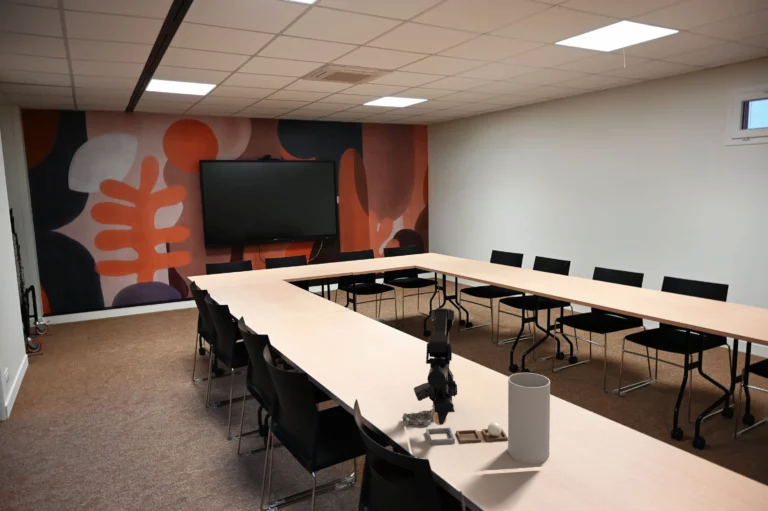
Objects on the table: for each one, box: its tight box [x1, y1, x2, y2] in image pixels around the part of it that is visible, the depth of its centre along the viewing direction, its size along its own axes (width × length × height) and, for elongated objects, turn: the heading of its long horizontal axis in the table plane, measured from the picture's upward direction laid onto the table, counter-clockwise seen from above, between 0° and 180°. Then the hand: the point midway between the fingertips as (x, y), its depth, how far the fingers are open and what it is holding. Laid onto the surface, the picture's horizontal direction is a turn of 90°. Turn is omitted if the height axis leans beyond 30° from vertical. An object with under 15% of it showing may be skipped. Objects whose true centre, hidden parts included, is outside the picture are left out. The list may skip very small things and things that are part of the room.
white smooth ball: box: [487, 421, 503, 437], centre depth 170 cm, size 5×5×5 cm
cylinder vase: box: [507, 372, 551, 464], centre depth 157 cm, size 12×12×25 cm
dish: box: [425, 427, 456, 446], centre depth 170 cm, size 8×8×2 cm
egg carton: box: [401, 410, 433, 428], centre depth 183 cm, size 11×8×4 cm
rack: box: [455, 427, 508, 445], centre depth 170 cm, size 8×16×2 cm, turn 94°
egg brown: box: [432, 412, 448, 426], centre depth 169 cm, size 5×5×5 cm
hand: (439, 420), depth 169 cm, fingers closed on egg brown, 5 cm apart
